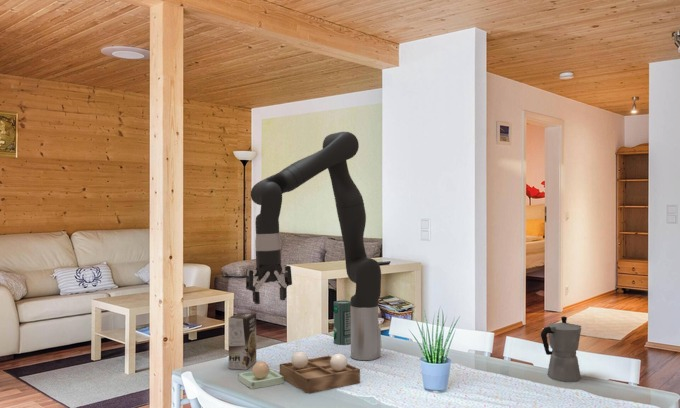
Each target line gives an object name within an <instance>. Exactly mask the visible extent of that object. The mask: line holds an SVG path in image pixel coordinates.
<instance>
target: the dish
mask: <svg viewBox="0 0 680 408" xmlns="http://www.w3.org/2000/svg"><path fill="white" fill-rule="evenodd" d="M269 369H270V370H269V374H268V376H267V377H266V378H264V379H257V378H256V377H255V376H254V375H253V373H252V371H246V372H240V373H237V380H238V381H239V382H240V383H242V385H243V384H244V385H245V386H247V387H248V388H249V389H251V390H254V389H261V388H265V387H271V386H276V385H280V384H284V383H285V380H284V377H283V376H282V375H280V373H278V372H276V371H275V370H273V369H272V368H269Z"/></svg>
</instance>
